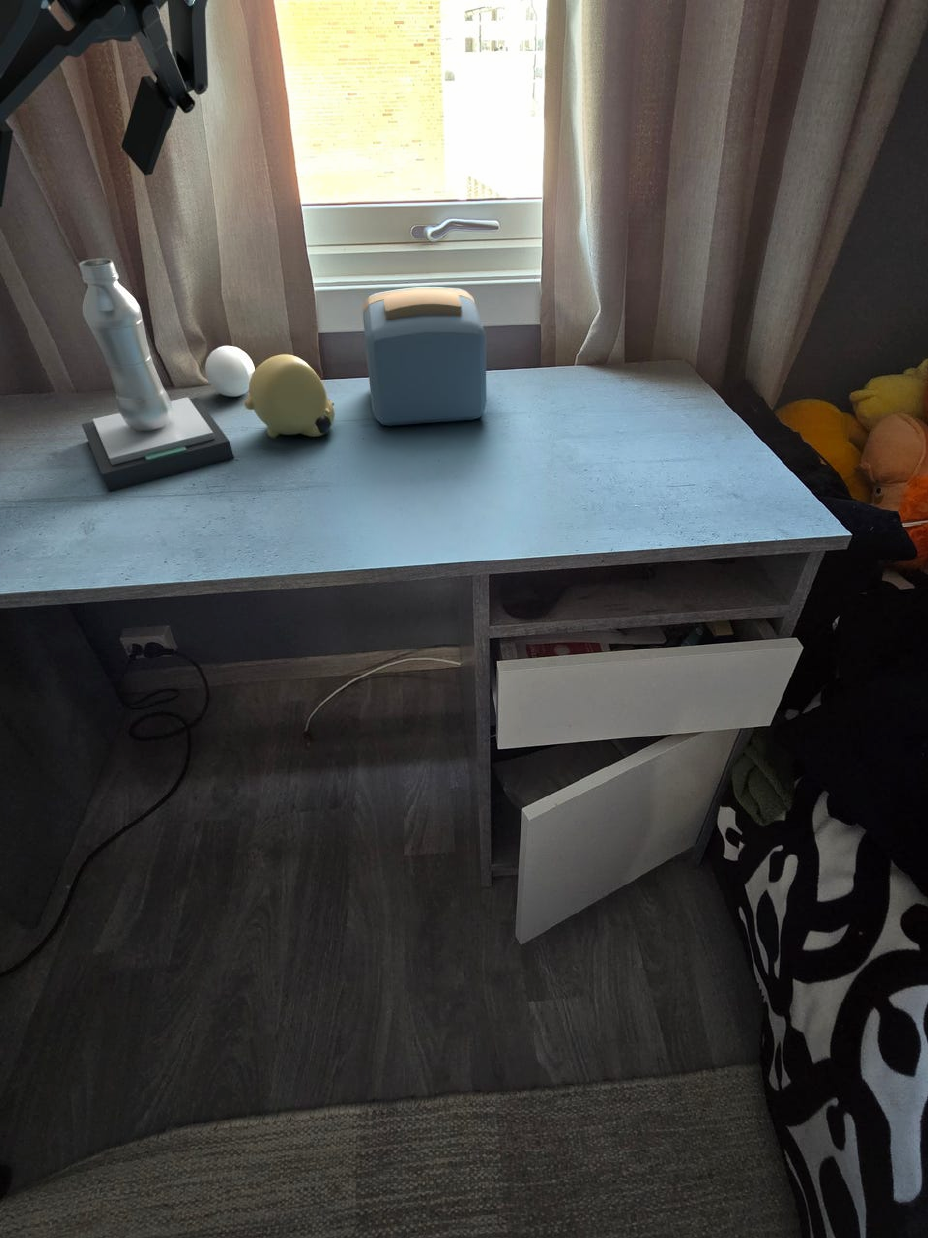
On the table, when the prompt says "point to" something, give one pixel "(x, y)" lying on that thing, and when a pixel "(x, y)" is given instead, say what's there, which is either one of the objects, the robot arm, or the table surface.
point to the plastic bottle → (124, 347)
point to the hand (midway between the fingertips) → (65, 174)
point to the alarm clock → (425, 355)
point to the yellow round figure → (290, 397)
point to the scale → (156, 445)
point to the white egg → (229, 370)
